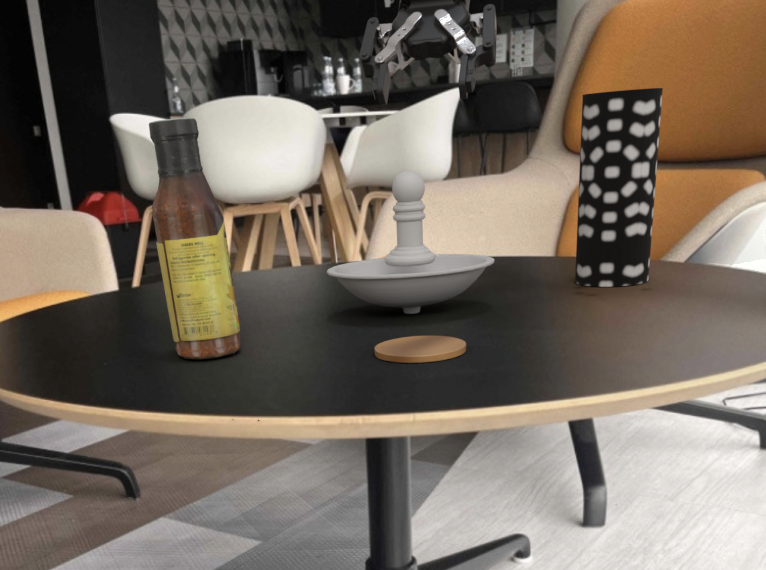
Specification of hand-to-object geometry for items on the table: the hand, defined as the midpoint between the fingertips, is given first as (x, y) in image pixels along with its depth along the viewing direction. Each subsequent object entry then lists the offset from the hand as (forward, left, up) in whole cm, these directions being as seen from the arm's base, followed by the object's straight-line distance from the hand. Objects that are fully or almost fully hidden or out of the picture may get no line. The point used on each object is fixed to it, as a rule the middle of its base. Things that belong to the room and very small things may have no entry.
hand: (421, 95), depth 90 cm
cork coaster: (-6, +24, -21) cm, 33 cm away
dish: (0, +6, -21) cm, 22 cm away
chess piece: (0, +6, -16) cm, 17 cm away
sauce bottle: (+14, +26, -21) cm, 37 cm away
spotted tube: (-19, -13, -21) cm, 31 cm away
